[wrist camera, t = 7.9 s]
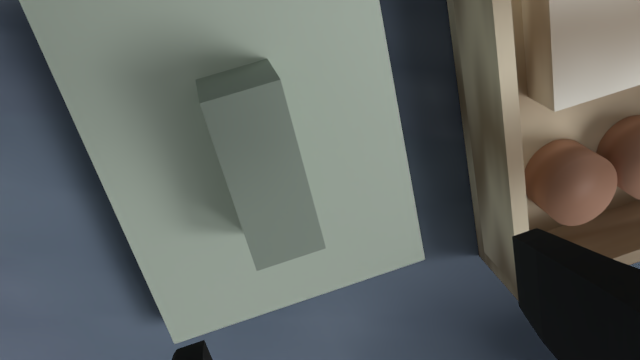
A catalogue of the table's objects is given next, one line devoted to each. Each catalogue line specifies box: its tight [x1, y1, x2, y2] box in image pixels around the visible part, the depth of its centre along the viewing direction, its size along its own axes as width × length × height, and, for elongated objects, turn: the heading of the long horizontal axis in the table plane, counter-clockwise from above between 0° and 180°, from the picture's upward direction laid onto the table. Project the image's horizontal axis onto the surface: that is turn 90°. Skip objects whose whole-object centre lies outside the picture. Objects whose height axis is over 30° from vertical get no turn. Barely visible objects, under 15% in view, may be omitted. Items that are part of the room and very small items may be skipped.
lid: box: [19, 0, 425, 344], centre depth 20 cm, size 13×10×4 cm
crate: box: [447, 0, 640, 300], centre depth 23 cm, size 13×10×4 cm
